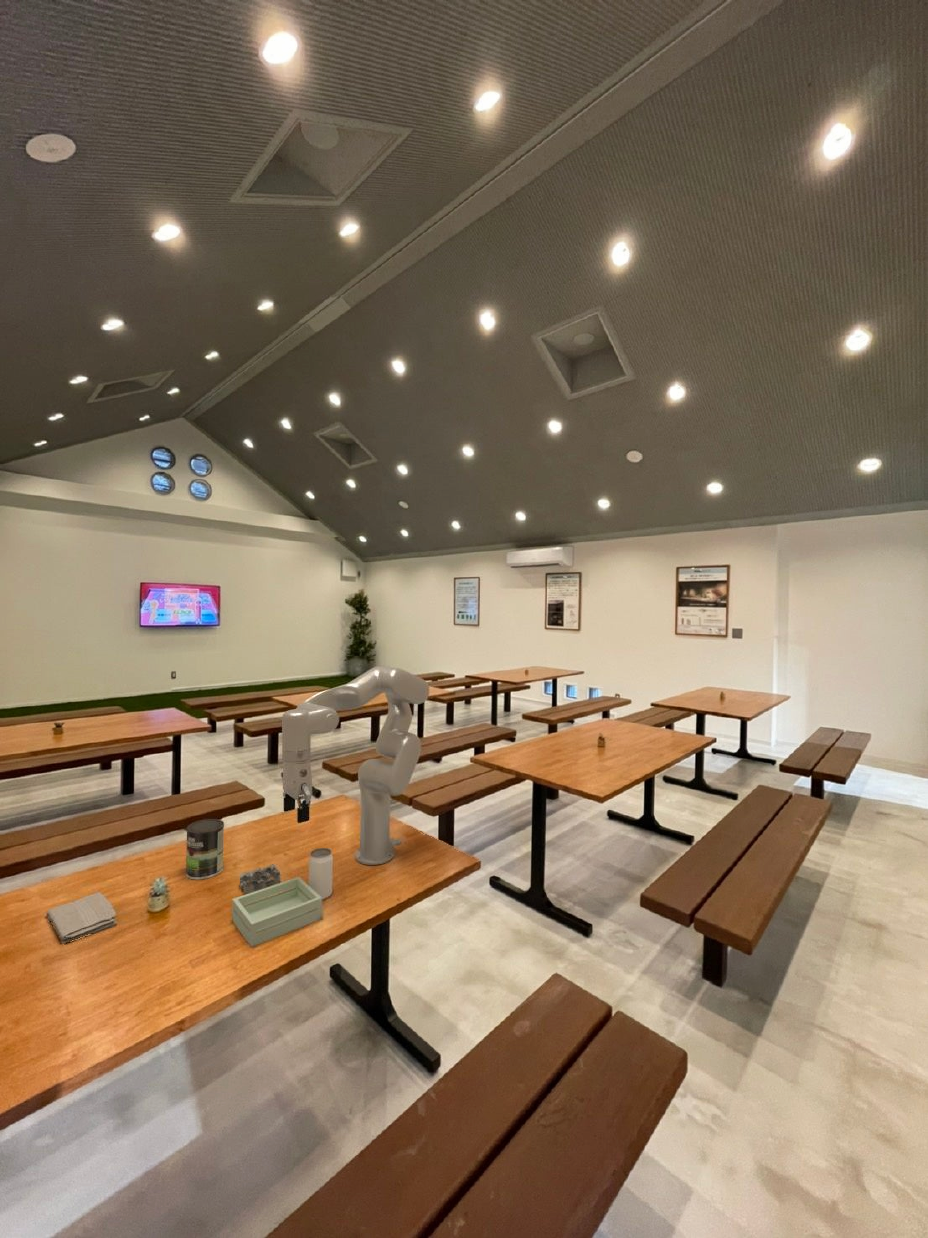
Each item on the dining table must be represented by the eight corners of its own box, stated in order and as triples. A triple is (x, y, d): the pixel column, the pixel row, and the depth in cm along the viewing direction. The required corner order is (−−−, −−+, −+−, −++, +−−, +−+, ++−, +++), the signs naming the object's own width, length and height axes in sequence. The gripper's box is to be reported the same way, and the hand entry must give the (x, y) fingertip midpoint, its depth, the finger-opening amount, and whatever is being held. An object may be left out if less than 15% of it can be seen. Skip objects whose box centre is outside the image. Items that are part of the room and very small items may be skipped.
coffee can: (203, 883, 153) (203, 835, 153) (177, 875, 157) (178, 828, 156) (231, 867, 162) (231, 822, 162) (206, 860, 166) (207, 816, 166)
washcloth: (62, 948, 123) (62, 935, 123) (44, 918, 135) (44, 906, 135) (120, 926, 132) (120, 914, 132) (98, 899, 144) (98, 888, 144)
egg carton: (244, 897, 146) (244, 882, 146) (237, 885, 153) (237, 871, 152) (282, 885, 153) (282, 871, 153) (274, 874, 159) (274, 861, 159)
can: (311, 888, 151) (311, 847, 151) (333, 888, 152) (334, 847, 151) (306, 901, 145) (306, 858, 144) (330, 900, 145) (330, 857, 145)
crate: (298, 896, 147) (299, 876, 147) (321, 918, 137) (322, 897, 136) (231, 920, 135) (232, 899, 135) (251, 947, 125) (251, 924, 124)
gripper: (322, 759, 141) (322, 822, 142) (297, 745, 154) (296, 803, 155) (295, 765, 136) (295, 830, 137) (271, 750, 150) (271, 809, 150)
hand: (296, 815), depth 146 cm, fingers open, 9 cm apart
